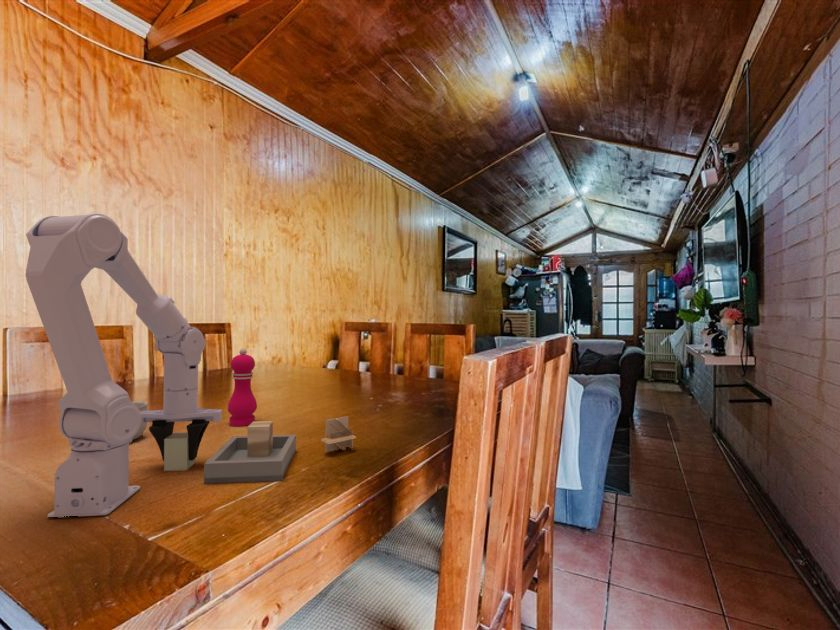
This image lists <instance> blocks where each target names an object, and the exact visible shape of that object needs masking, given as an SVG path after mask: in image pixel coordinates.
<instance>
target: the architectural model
mask: <svg viewBox="0 0 840 630" xmlns="http://www.w3.org/2000/svg"><path fill="white" fill-rule="evenodd" d="M354 439H357V436H356V435H354V428H353V427H352V428H349V416H348V415H347V416H341V417H336V418H330V419H326V420H325V437H323V438H320V441H321V442H323V443H325V447H324V448H325V451H324V452H327V453H329V452H328V451H332V450H336V449H340V450H341V449H342V450H341V451H343V450H346V451H347V448H346V447H347V446H349V447H350V448H353V447H354ZM343 447H344V448H343ZM350 448H349V449H350ZM353 449H354V448H353ZM336 451H337V450H336ZM332 452H333V451H332Z"/></svg>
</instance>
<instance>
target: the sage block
mask: <svg viewBox="0 0 840 630" xmlns="http://www.w3.org/2000/svg"><path fill="white" fill-rule="evenodd" d="M194 464H196V458H195V459H194V460H190V461H189V439H188V432H187V431H186V432H173V434H171V435H170V436H168V437H167V438H165V439H164V461H163V472H172V471H173V472H175V471H176V472H178V471H188V470H189V469H190V468H191V467H192V466H193V465H194Z"/></svg>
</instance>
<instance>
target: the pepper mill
mask: <svg viewBox="0 0 840 630" xmlns="http://www.w3.org/2000/svg"><path fill="white" fill-rule="evenodd" d="M247 352H248V351H247V349H245V348H241V349H239V354H237V355H235V356H234V357H232V359H231V361H230V369H231V370H232V371H233V372H232V379H233V381H234V388H233V392H232V395H231V396H230V399H229V401H228V403H227V412H228V413H229V415H231V416H230V417H229V426H231V427H246V425H247V426H249V425H250V424H251V423H252V422H256V416H255V415H254V412H256V410H257V408H258V404H257V403H258V402H257V400H256V398H255V395H254V394H253V390H252V387H251V386H252V385H251V384H252V383H251V382H252V378H254V376H253V374H254V373H253V372H252V371H253V370H254V369H255V366H256V361H255V358H254V357H253V356H252V355H249V354H247Z"/></svg>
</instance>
